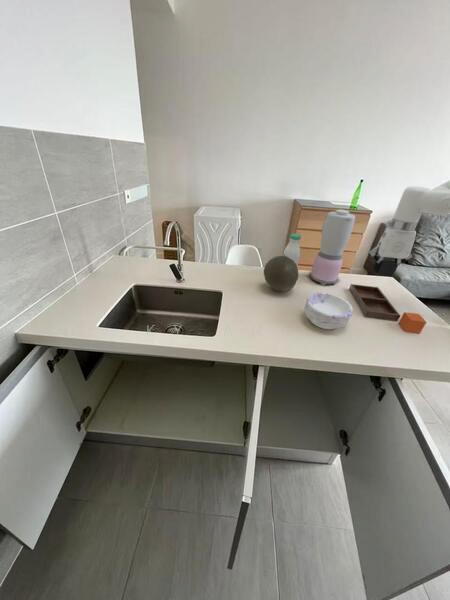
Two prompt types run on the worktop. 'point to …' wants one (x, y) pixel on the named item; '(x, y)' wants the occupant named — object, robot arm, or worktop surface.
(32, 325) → the worktop surface
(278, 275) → the dark brown ball
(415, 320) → the orange cube
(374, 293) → the holder
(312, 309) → the paper bowls
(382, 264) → the black cube
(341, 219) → the blender
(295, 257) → the milk bottle
